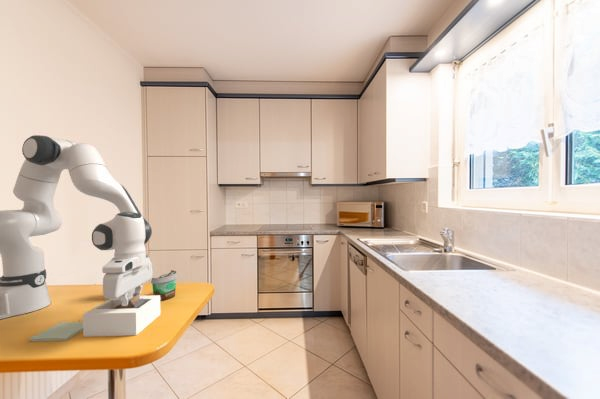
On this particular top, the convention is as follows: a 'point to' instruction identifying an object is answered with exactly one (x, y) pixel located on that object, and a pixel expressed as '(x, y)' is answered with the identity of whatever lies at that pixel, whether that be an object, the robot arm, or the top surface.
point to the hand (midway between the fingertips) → (131, 301)
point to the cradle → (138, 303)
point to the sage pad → (59, 332)
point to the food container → (165, 285)
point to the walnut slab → (132, 301)
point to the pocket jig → (120, 317)
